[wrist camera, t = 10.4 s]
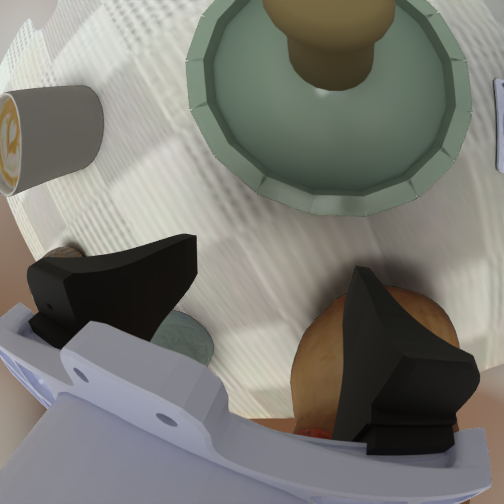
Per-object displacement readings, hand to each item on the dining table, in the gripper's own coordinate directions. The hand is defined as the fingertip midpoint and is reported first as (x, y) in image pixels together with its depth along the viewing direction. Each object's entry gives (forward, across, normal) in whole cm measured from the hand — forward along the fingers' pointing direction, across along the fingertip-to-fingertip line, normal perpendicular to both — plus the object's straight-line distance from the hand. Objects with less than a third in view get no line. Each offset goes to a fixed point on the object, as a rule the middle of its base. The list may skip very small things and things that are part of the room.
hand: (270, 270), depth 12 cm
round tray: (+10, -1, -10) cm, 15 cm away
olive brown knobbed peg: (+10, -1, -12) cm, 15 cm away
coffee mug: (+11, +26, -6) cm, 29 cm away
